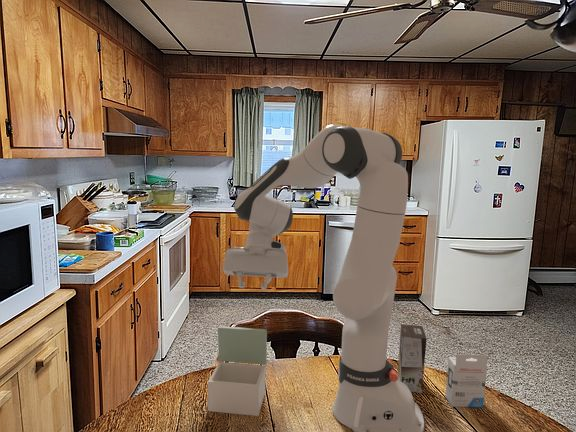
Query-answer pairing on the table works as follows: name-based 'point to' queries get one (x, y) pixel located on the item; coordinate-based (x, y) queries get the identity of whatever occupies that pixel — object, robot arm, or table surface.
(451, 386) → the ink box
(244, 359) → the box lid
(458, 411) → the table surface
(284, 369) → the table surface
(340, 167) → the robot arm
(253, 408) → the storage box
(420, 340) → the coffee box
